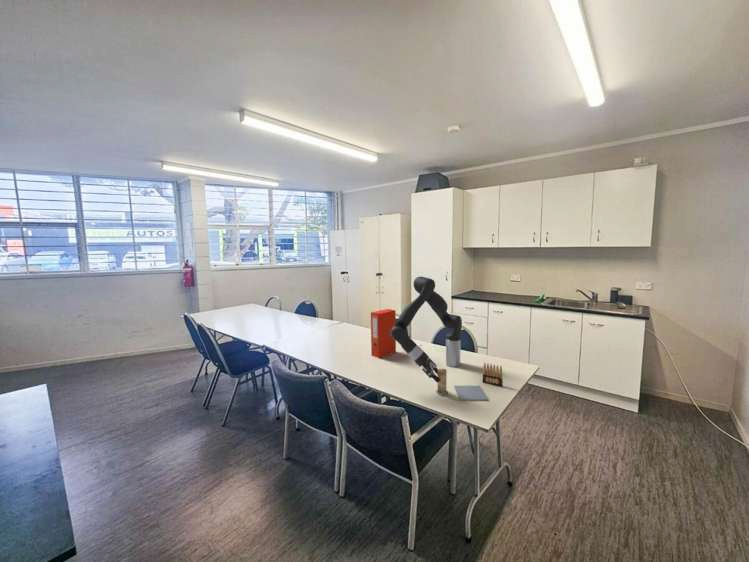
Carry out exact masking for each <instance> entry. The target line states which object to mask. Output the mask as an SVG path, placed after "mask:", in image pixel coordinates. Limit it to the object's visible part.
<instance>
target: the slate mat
mask: <svg viewBox="0 0 749 562" xmlns="http://www.w3.org/2000/svg"><path fill="white" fill-rule="evenodd" d="M454 387H455V388H454ZM453 388H454V389H455V392H456V393H457V397H458V398H460V399H459V400H460V402H461V401H462V400H463V401H464V400H472V401H475V400H477V401H478V400H481V401H488V402H489V398H488V397H487V394H486V393H485V392H484V390H483V389H482V387H481V385H453ZM472 401H471V402H472ZM477 401H476V402H477ZM464 402H465V401H464Z"/></svg>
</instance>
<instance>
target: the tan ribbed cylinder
mask: <svg viewBox="0 0 749 562" xmlns="http://www.w3.org/2000/svg"><path fill="white" fill-rule="evenodd" d="M437 369H438V375H437V377H438V378H439V379H440V381H439V382H438V383H437V389H436V391H435V393H437V394H438V396H439V395H441V397H446V396H448V395H447V394H448V393H449V392H448V391H447V369H446V368H443V367H442V368H441V367H440V368H437ZM437 394H436V395H437ZM445 395H446V396H445Z"/></svg>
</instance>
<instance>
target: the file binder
mask: <svg viewBox="0 0 749 562" xmlns="http://www.w3.org/2000/svg"><path fill="white" fill-rule="evenodd" d="M396 318H397V317H396V310H395V309H392V308H386V309H385V308H384V309H382V310H376V311H372V312H370V342H371V343H370V345H371V346H370V347H371V348H370V349H371V351H370V353H371V356H372V357H374V356H375V358H376V357H378V358H377V359H380V357H381V358H383V356H384V357H386V356H385V355H387V356H390V355H392V354H391V353H393V354H395V353H396V352H397V341H396V340H394V339H392V337H391V336H390V331H391V329H392V328H393V326H394V325H395V323H396V322H397V319H396ZM394 352H395V353H394ZM389 354H390V355H389Z"/></svg>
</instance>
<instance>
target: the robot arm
mask: <svg viewBox="0 0 749 562" xmlns="http://www.w3.org/2000/svg"><path fill="white" fill-rule="evenodd" d="M413 288H414V290H415V291H416V293H418V294H419V295H418V296H417V297H416V298H415V299H414V300H412V301H411V302H410V303H409V304H407V305H406V306H405V307H404V308H403V310H402V311H401V313H400V315H399V317H398V319H397V320H396V323H395V325H394V326H393V328H392V329H391V331H390V336H391V337H392V339H394V340H396V343H398V344H399V345H400V346H401V348H402V349H403V351H404V352H405V353H406V354H407V355H408V356H409V357H410V359H411V360H412V361H413V362H415V364H416V365H417V366H418V367H420V368H421V367H422V371H423V372H424V373H425V375H427V376H428V378H429V379H433V380H434V381H435V382H436V383H437V384H438V382H439V381H440V379H439V378H438V369H439V368H438V365H437V364H436V363H435V362H434V361H433V360H432V359H431V357H429V355H428V354H427V353H426V352H425V351H424V350H423V349H422V348H421V347H420V346H419V345H418V344H417V343H416V342H415V341H414V340H413V339H412V338H411V337H410V336H409V335H408V333H407V332H406V330H407V328H408V327H409V326H410V324H411V323H412V321H413V320H414V317H415V316H416V314H417V313H418V311H419V310H420V309H421V307H422V306H423V305H424V304H425V303H427V305H429V306H430V308H431V309H432V311H434V313H435V314H436V315H437V317H438V318H439V319H440V322H441V323H442V325H443V326H444V327H445V328H446V329H450V330H452V332H448V333H447V334H446V335H445V365H446V364H447V365H446V366H447V367H451V366H453V368H457V367H456V366H458V367H461V336H462V327H463V321H462V317H461V316H460V315H456V314H451V313H449V312H448V311H447V310H448V307H449V306H448V302H447V301H446V300H445V299H444V297H443V296H441V295H440V294H439V293H438V292H436V291H435V288H436V281H435V280H434V279H433V278H429V277H425V276H417V277H416V278H414V279H413Z"/></svg>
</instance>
